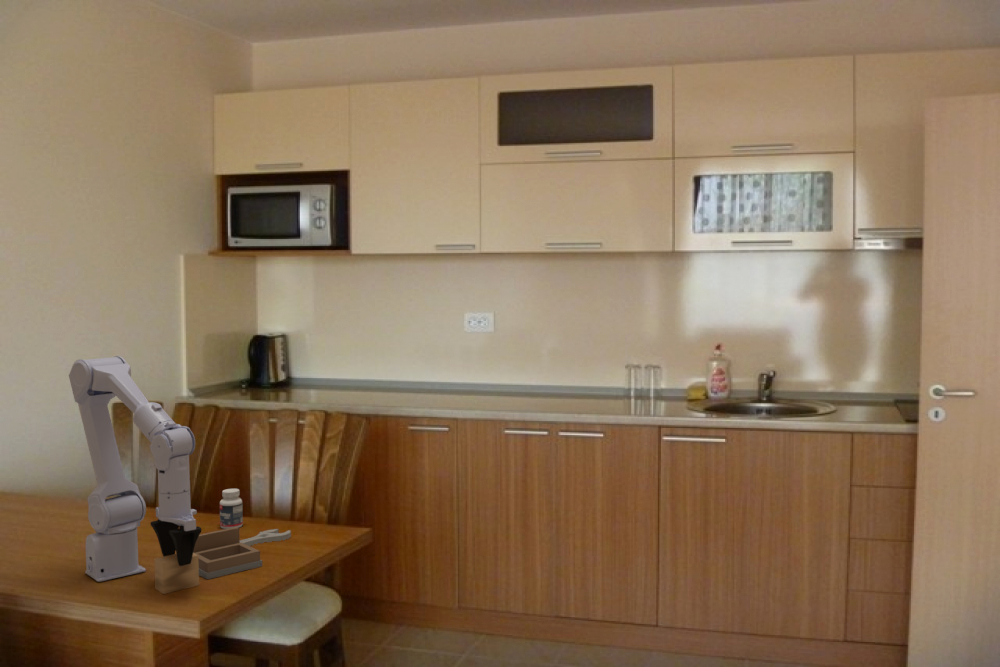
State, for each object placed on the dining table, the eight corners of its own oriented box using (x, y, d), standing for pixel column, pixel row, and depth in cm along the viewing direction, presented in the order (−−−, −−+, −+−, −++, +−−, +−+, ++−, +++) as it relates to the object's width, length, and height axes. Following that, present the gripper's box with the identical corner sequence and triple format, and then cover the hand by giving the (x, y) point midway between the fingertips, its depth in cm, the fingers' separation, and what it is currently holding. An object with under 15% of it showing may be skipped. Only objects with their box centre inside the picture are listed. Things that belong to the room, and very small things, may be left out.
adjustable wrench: (190, 564, 187) (190, 556, 187) (177, 558, 192) (177, 550, 192) (294, 539, 205) (294, 531, 204) (280, 533, 209) (279, 526, 209)
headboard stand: (206, 579, 176) (206, 549, 176) (182, 565, 185) (181, 537, 184) (262, 566, 184) (261, 537, 184) (236, 553, 193) (235, 526, 192)
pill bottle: (215, 527, 214) (214, 491, 213) (232, 522, 218) (232, 486, 217) (230, 530, 211) (229, 493, 210) (247, 525, 215) (246, 489, 215)
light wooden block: (163, 594, 168) (162, 563, 168) (155, 589, 171) (154, 558, 171) (199, 585, 173) (198, 555, 172) (190, 580, 176) (189, 550, 175)
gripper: (210, 493, 168) (212, 563, 169) (179, 481, 179) (181, 547, 180) (173, 499, 163) (176, 572, 164) (144, 487, 174) (146, 555, 175)
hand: (176, 560), depth 171 cm, fingers open, 7 cm apart
